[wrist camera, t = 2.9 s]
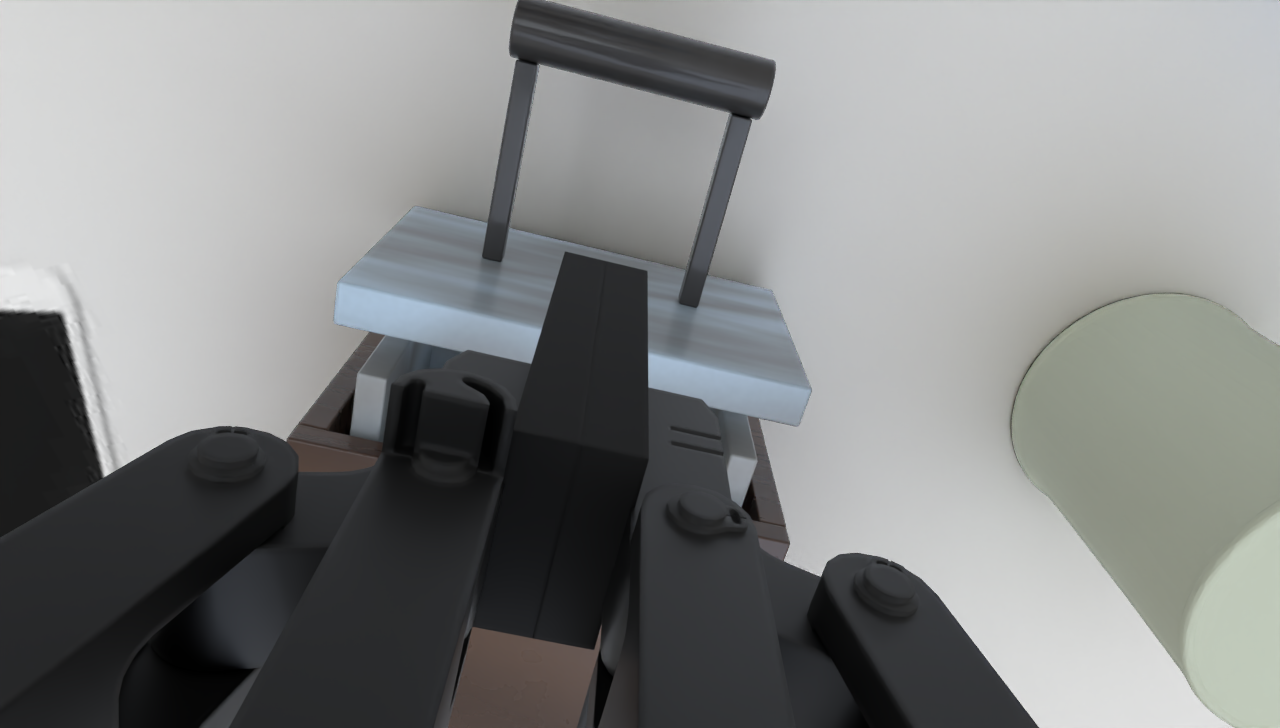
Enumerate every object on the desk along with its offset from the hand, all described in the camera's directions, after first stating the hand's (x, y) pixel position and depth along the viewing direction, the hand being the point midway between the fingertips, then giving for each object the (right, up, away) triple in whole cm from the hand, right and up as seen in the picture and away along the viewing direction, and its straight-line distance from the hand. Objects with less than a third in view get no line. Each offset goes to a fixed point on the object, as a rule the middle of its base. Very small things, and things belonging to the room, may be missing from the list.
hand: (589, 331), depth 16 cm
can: (+20, -2, +17) cm, 26 cm away
